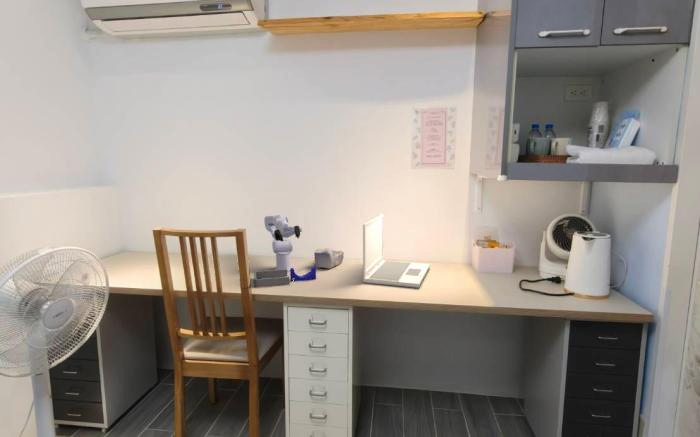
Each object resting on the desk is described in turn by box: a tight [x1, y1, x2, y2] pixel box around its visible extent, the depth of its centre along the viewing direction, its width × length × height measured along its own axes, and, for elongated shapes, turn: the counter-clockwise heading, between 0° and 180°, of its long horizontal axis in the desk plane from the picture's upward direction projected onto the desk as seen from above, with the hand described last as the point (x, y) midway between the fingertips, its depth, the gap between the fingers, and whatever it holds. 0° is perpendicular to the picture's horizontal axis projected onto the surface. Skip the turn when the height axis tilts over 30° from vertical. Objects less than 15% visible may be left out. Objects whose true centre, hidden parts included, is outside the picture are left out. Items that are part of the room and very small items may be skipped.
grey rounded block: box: [313, 247, 345, 270], centre depth 218 cm, size 13×11×20 cm
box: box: [253, 269, 291, 288], centre depth 190 cm, size 14×16×4 cm
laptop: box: [362, 213, 431, 289], centre depth 196 cm, size 35×26×28 cm
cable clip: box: [289, 265, 317, 282], centre depth 193 cm, size 12×4×6 cm, turn 105°
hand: (290, 237), depth 188 cm, fingers open, 7 cm apart
